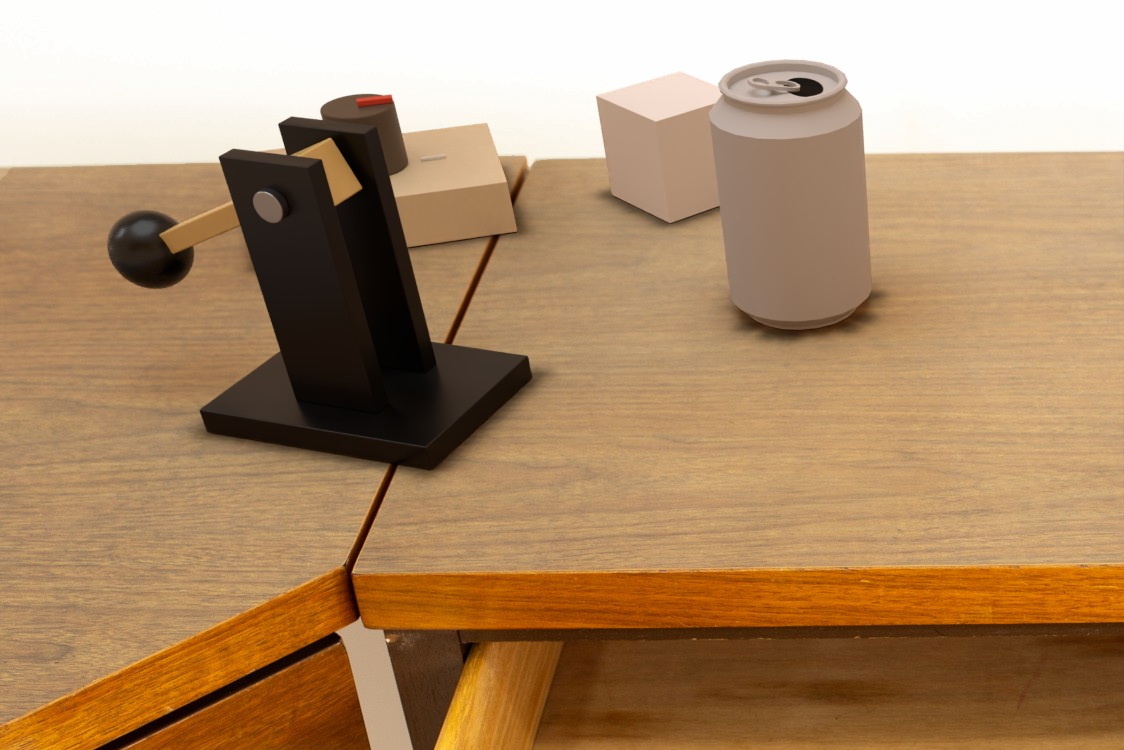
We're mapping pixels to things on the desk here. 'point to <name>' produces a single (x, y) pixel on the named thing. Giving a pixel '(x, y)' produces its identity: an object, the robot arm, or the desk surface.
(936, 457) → the desk surface
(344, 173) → the lever
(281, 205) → the bracket
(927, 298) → the desk surface
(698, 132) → the pale pink cube
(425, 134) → the plate
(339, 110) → the lock knob
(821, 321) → the can
